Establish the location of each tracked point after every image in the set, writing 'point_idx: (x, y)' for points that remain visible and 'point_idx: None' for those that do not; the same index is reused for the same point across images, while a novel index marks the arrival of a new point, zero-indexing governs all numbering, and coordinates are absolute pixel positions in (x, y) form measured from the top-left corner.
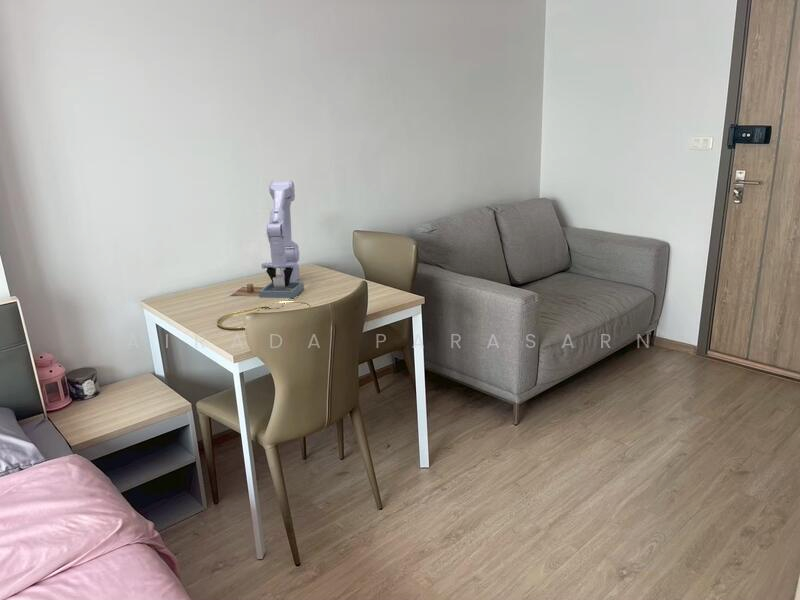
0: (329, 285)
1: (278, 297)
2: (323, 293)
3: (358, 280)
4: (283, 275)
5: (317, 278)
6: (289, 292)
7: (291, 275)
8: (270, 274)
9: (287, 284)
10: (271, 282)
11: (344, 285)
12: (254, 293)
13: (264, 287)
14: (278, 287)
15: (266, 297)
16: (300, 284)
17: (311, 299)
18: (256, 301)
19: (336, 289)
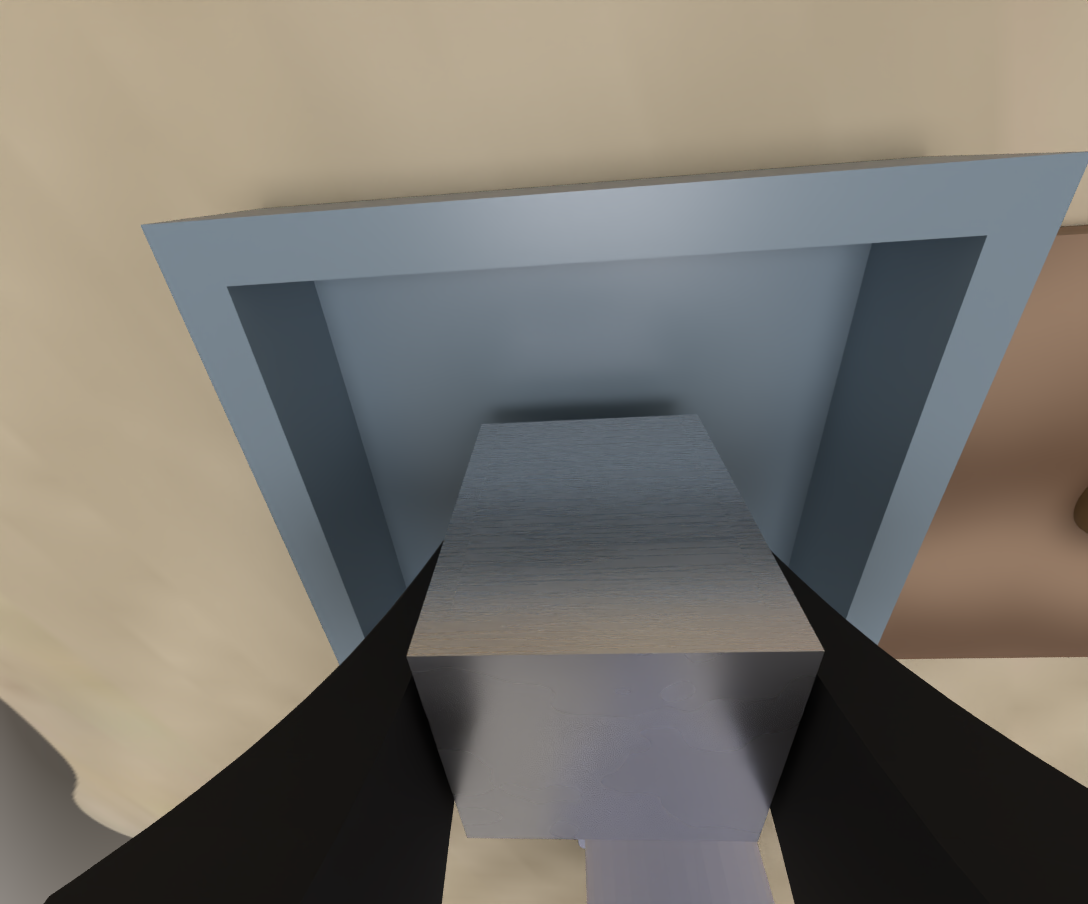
0: (248, 743)
1: (529, 189)
2: (92, 549)
3: (120, 823)
4: (547, 796)
5: (469, 850)
6: (227, 217)
7: (624, 869)
8: (980, 786)
9: (436, 553)
10: None
11: (117, 744)
12: (1070, 407)
13: (936, 486)
14: (612, 464)
15: (796, 167)
16: (335, 651)
17: (2, 289)
18: (996, 14)
19: (82, 662)
